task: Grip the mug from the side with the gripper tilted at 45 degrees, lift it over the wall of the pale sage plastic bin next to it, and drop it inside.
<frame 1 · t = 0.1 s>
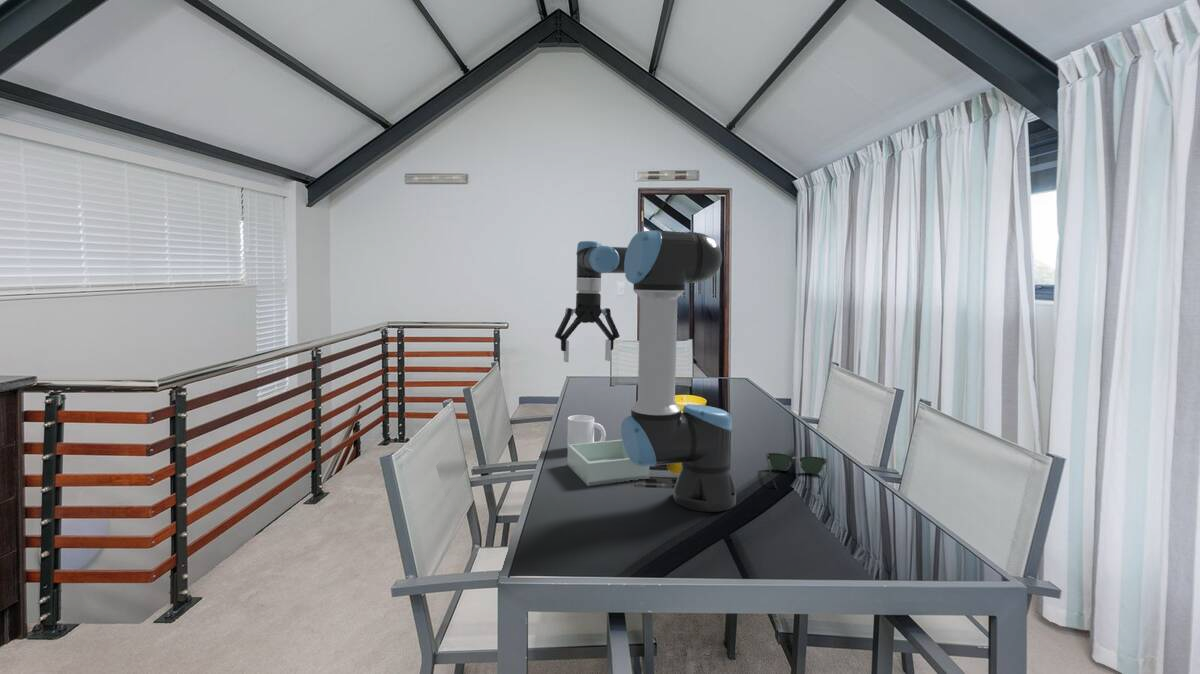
hand: (587, 361, 182), 28 cm above the table, tool pointing down, fingers open, 13 cm apart
bin: (607, 471, 164), on the table
sunglasses: (796, 482, 159), on the table
mug: (586, 451, 183), on the table
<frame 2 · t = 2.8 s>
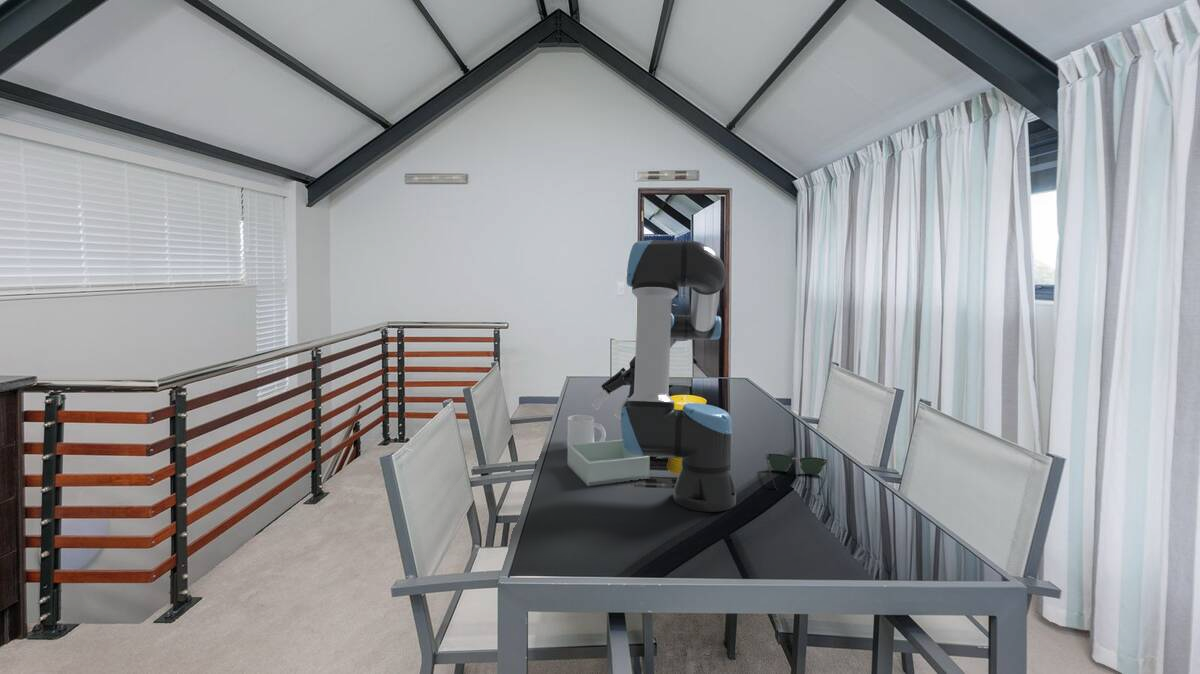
hand: (605, 412, 186), 11 cm above the table, tool tilted 45°, fingers open, 13 cm apart
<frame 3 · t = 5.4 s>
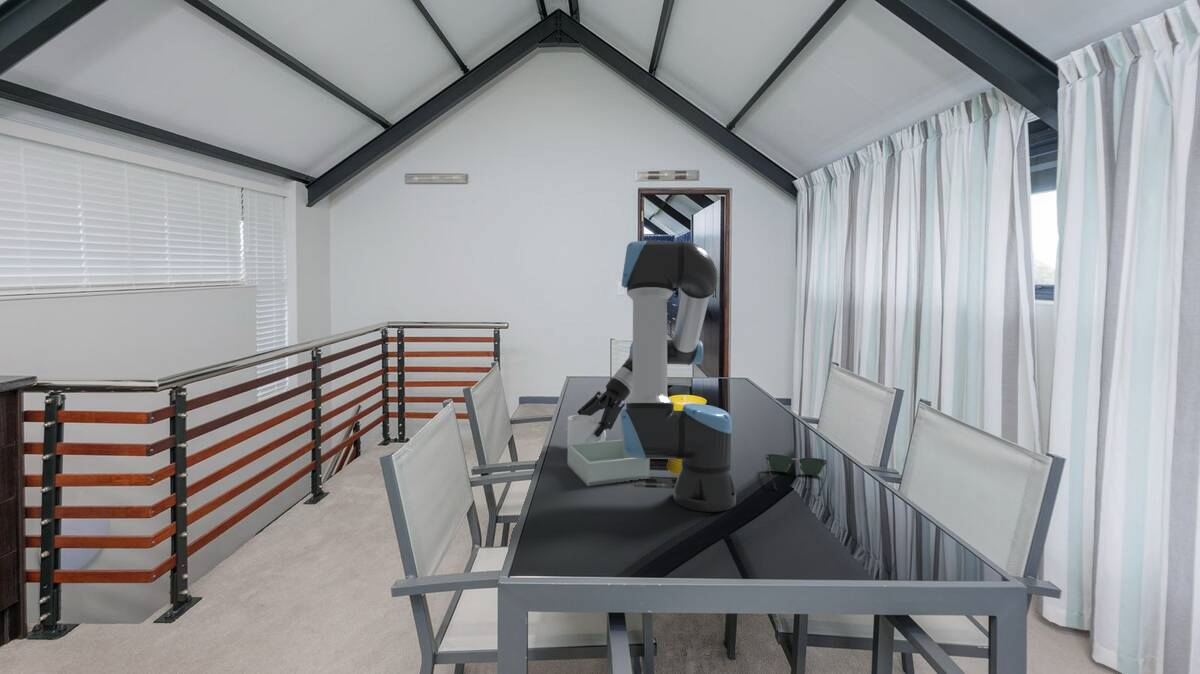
hand: (578, 439, 181), 4 cm above the table, tool tilted 45°, fingers open, 10 cm apart
mug: (586, 451, 183), on the table, touching gripper
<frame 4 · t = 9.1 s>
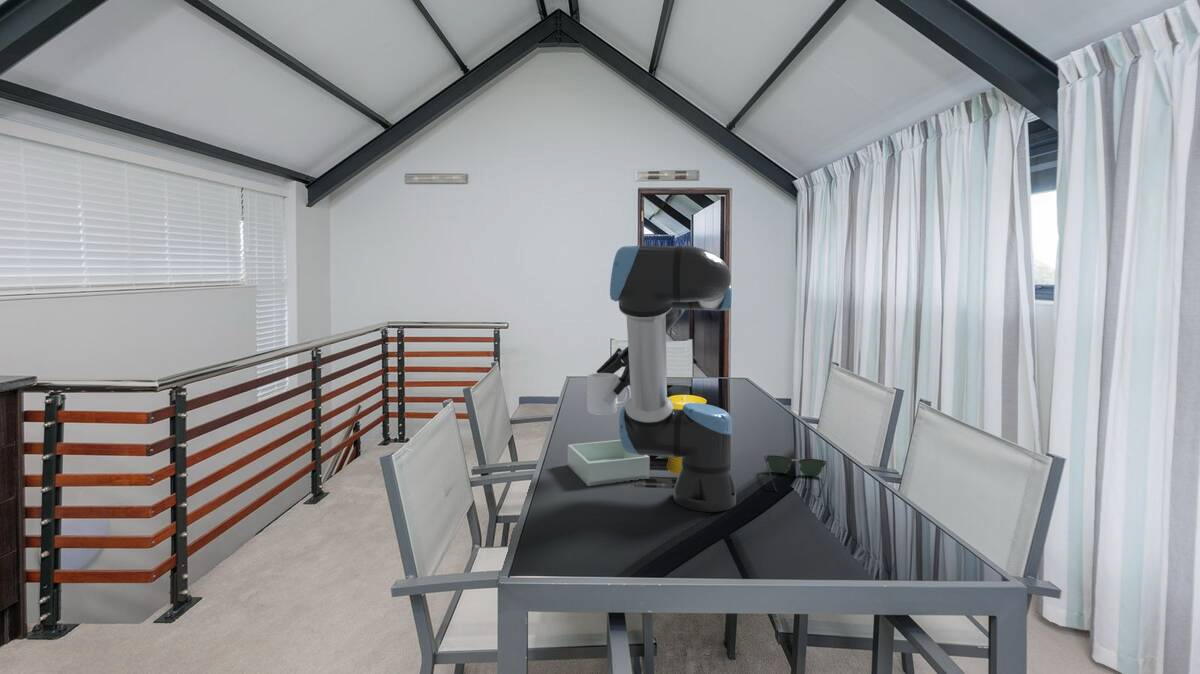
hand: (597, 398, 161), 21 cm above the table, tool tilted 45°, fingers closed on mug, 9 cm apart
mug: (608, 413, 162), point 17 cm above the table, touching gripper
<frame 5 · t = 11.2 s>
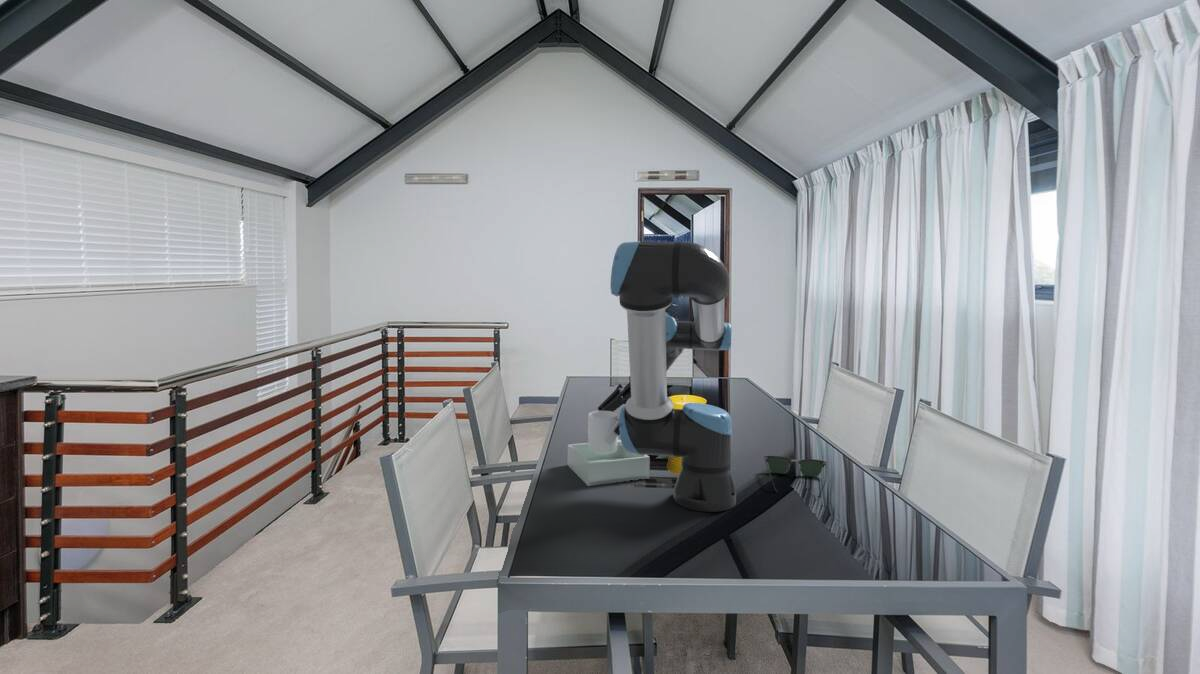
hand: (598, 437, 162), 10 cm above the table, tool tilted 45°, fingers closed on mug, 9 cm apart
mug: (609, 451, 163), point 6 cm above the table, touching gripper
when the fingers open (7 cm above the table, at t = 12.7 s): mug drops 2 cm, resting on bin.
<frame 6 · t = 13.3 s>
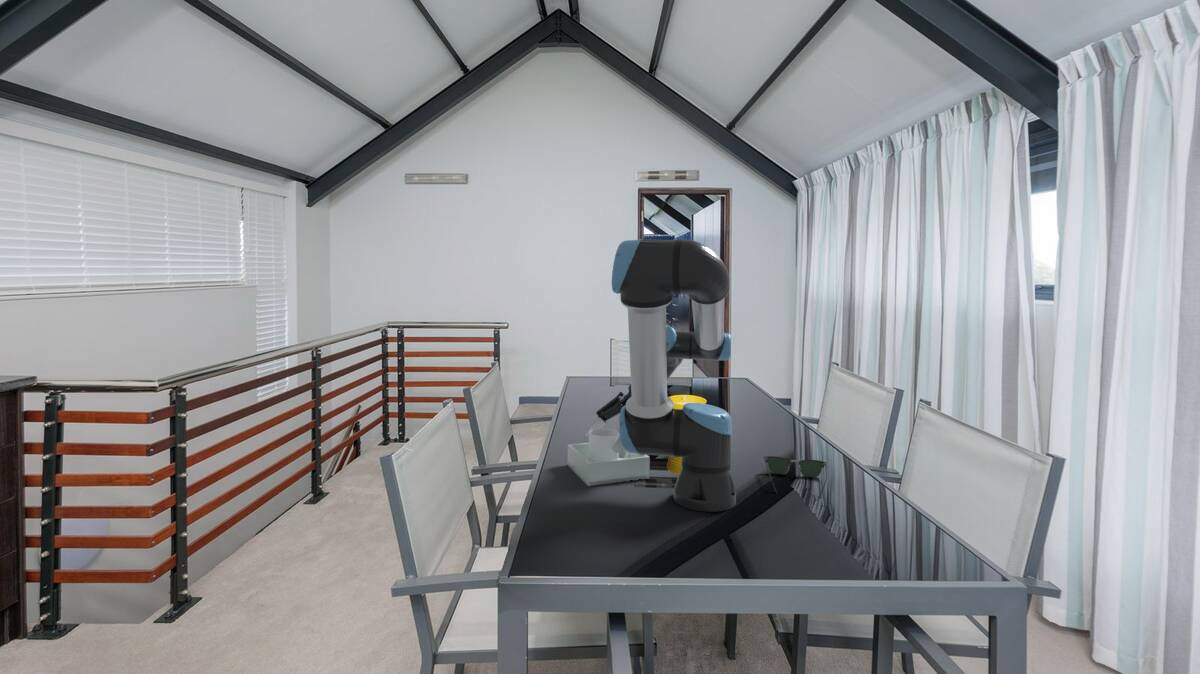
hand: (600, 444, 162), 8 cm above the table, tool tilted 45°, fingers open, 13 cm apart
mug: (609, 469, 163), point 1 cm above the table, touching bin
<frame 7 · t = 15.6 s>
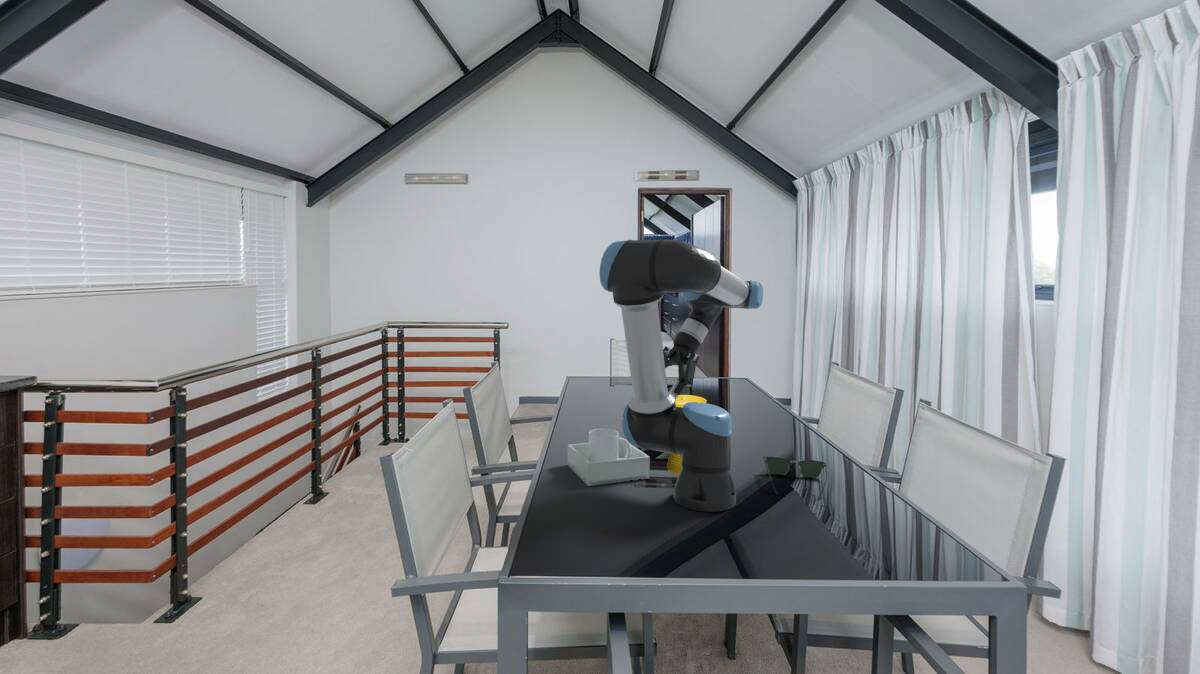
hand: (653, 398, 168), 19 cm above the table, tool tilted 35°, fingers open, 13 cm apart
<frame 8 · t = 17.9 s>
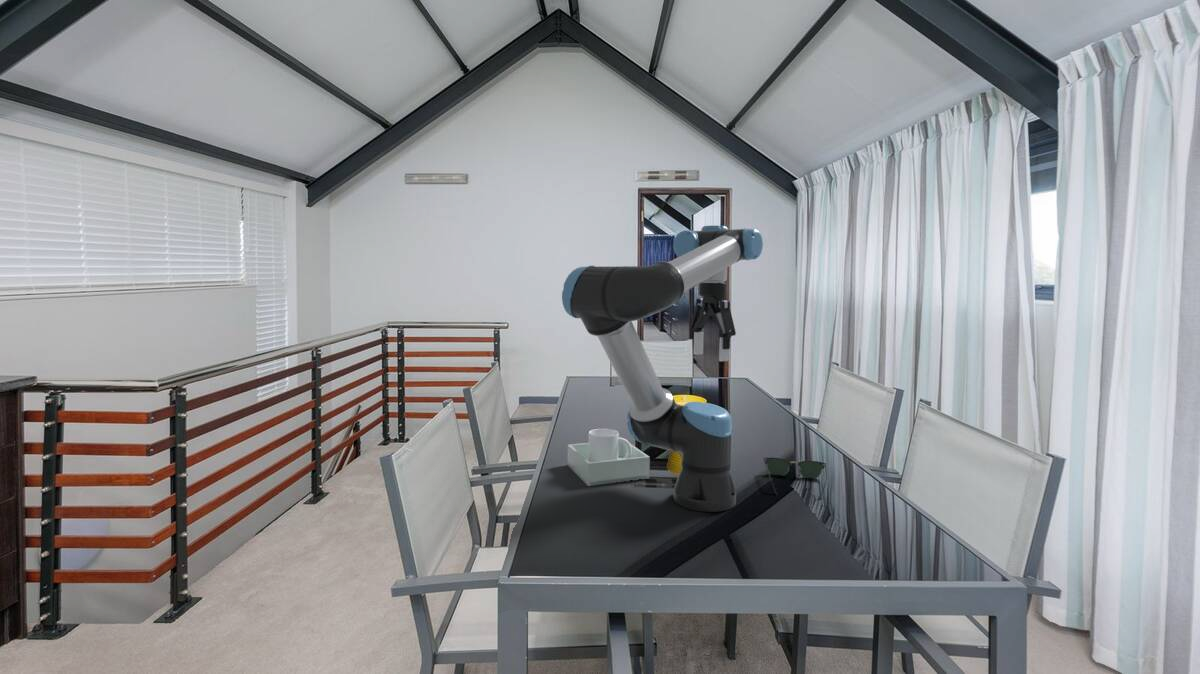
hand: (710, 357, 166), 32 cm above the table, tool pointing down, fingers open, 13 cm apart
at the end: mug inside the target area on the bin (1.0 cm from its centre), point 0.8 cm above the bin's base; the gripper is holding nothing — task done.
